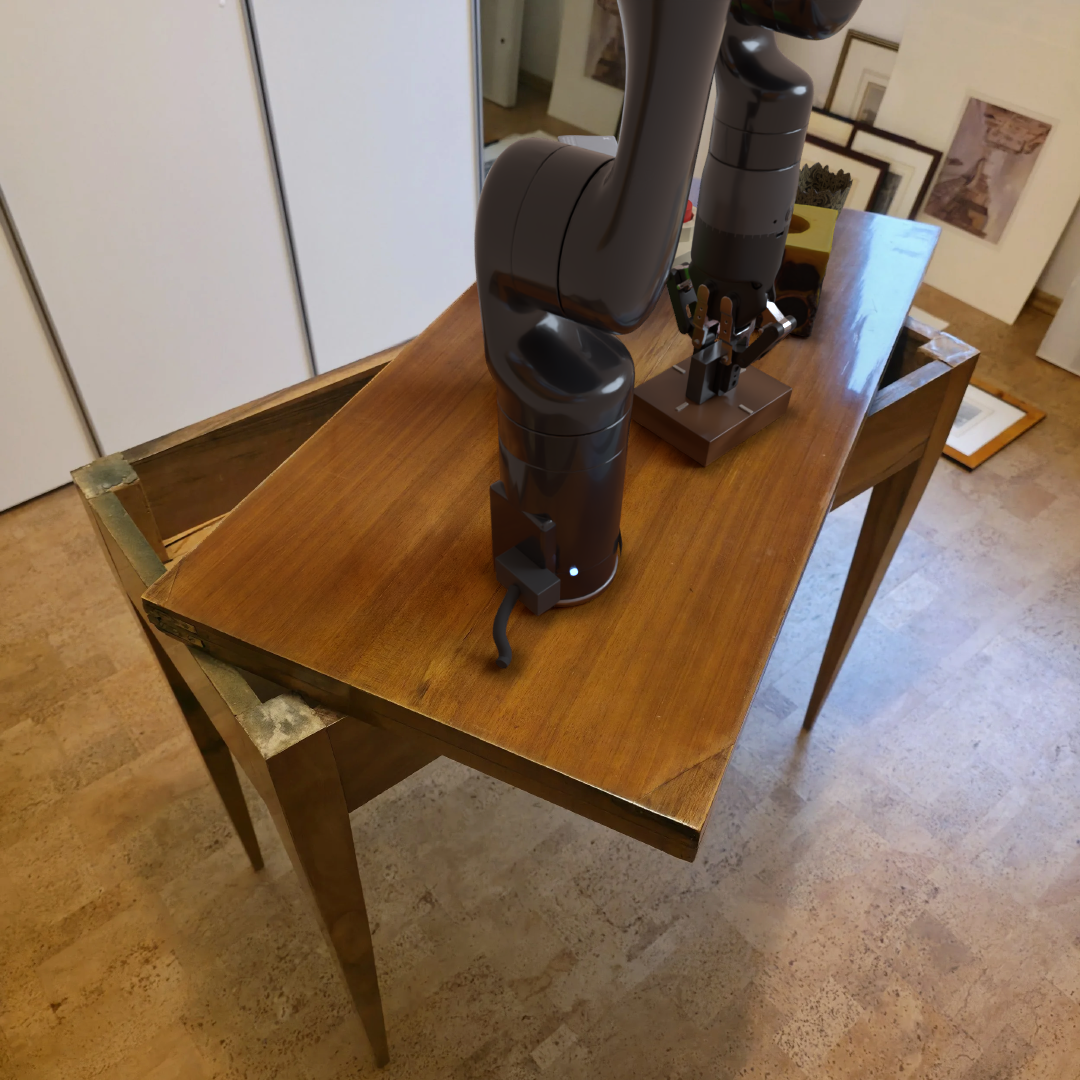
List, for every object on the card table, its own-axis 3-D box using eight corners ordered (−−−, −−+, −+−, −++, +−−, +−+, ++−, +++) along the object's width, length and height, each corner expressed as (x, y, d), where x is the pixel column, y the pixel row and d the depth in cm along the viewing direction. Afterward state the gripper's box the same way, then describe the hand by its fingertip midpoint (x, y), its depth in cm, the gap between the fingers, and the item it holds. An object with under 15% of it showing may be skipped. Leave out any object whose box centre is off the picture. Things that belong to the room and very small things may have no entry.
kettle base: (667, 277, 103) (671, 246, 100) (607, 246, 108) (609, 215, 105) (733, 244, 108) (739, 213, 105) (673, 216, 113) (677, 185, 110)
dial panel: (705, 467, 80) (710, 440, 77) (626, 415, 85) (629, 389, 83) (786, 413, 85) (793, 386, 83) (708, 367, 90) (712, 341, 88)
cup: (847, 238, 109) (865, 175, 104) (816, 260, 106) (832, 195, 100) (796, 219, 113) (810, 156, 107) (764, 239, 109) (777, 175, 103)
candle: (810, 340, 94) (833, 254, 87) (717, 323, 96) (732, 237, 89) (821, 292, 101) (843, 209, 93) (733, 277, 103) (748, 194, 96)
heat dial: (699, 405, 81) (706, 362, 78) (684, 396, 82) (691, 353, 79) (737, 381, 84) (746, 339, 80) (723, 373, 85) (731, 331, 81)
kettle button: (675, 228, 103) (676, 214, 102) (650, 216, 105) (652, 202, 104) (697, 218, 105) (699, 204, 104) (673, 206, 107) (674, 192, 106)
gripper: (649, 193, 72) (632, 368, 84) (784, 256, 65) (743, 437, 77) (709, 167, 75) (684, 339, 88) (844, 224, 68) (796, 403, 81)
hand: (712, 384), depth 82 cm, fingers closed on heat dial, 2 cm apart
